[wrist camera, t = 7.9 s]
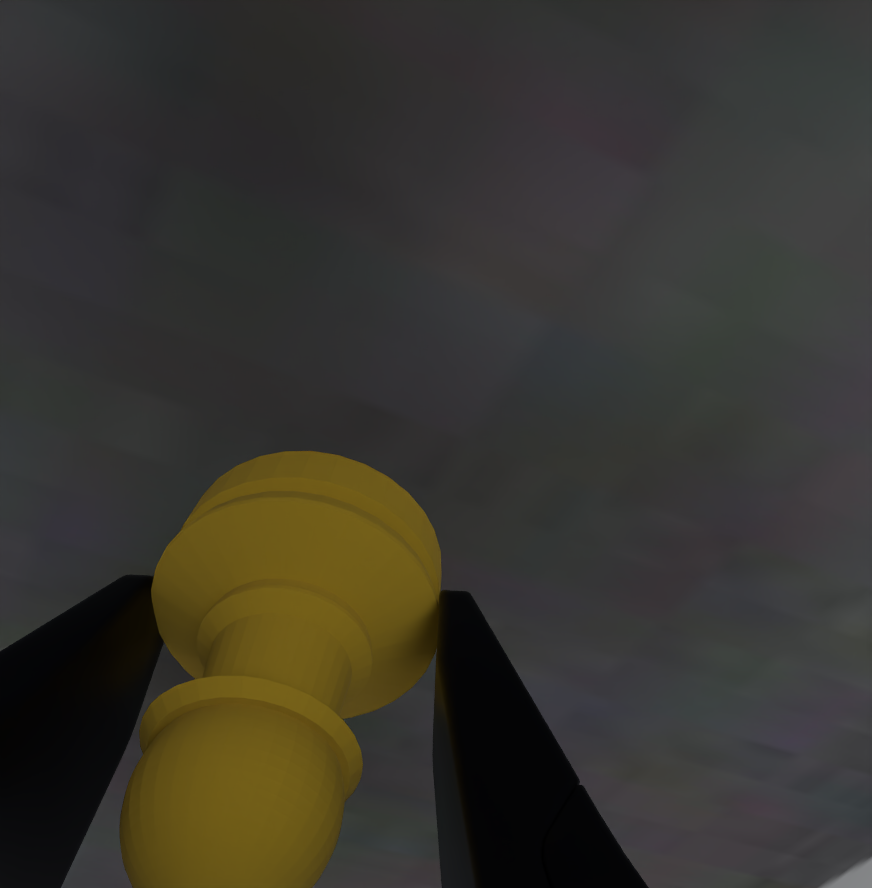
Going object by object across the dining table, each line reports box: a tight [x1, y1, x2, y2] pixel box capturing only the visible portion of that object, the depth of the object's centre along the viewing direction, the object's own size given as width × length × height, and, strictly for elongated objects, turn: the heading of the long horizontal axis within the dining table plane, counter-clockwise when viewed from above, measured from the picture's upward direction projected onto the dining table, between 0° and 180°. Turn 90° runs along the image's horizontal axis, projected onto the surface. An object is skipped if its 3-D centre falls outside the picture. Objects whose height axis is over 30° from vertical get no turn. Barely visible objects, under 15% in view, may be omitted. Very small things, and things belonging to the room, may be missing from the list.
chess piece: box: [120, 451, 441, 888], centre depth 8 cm, size 4×4×5 cm
